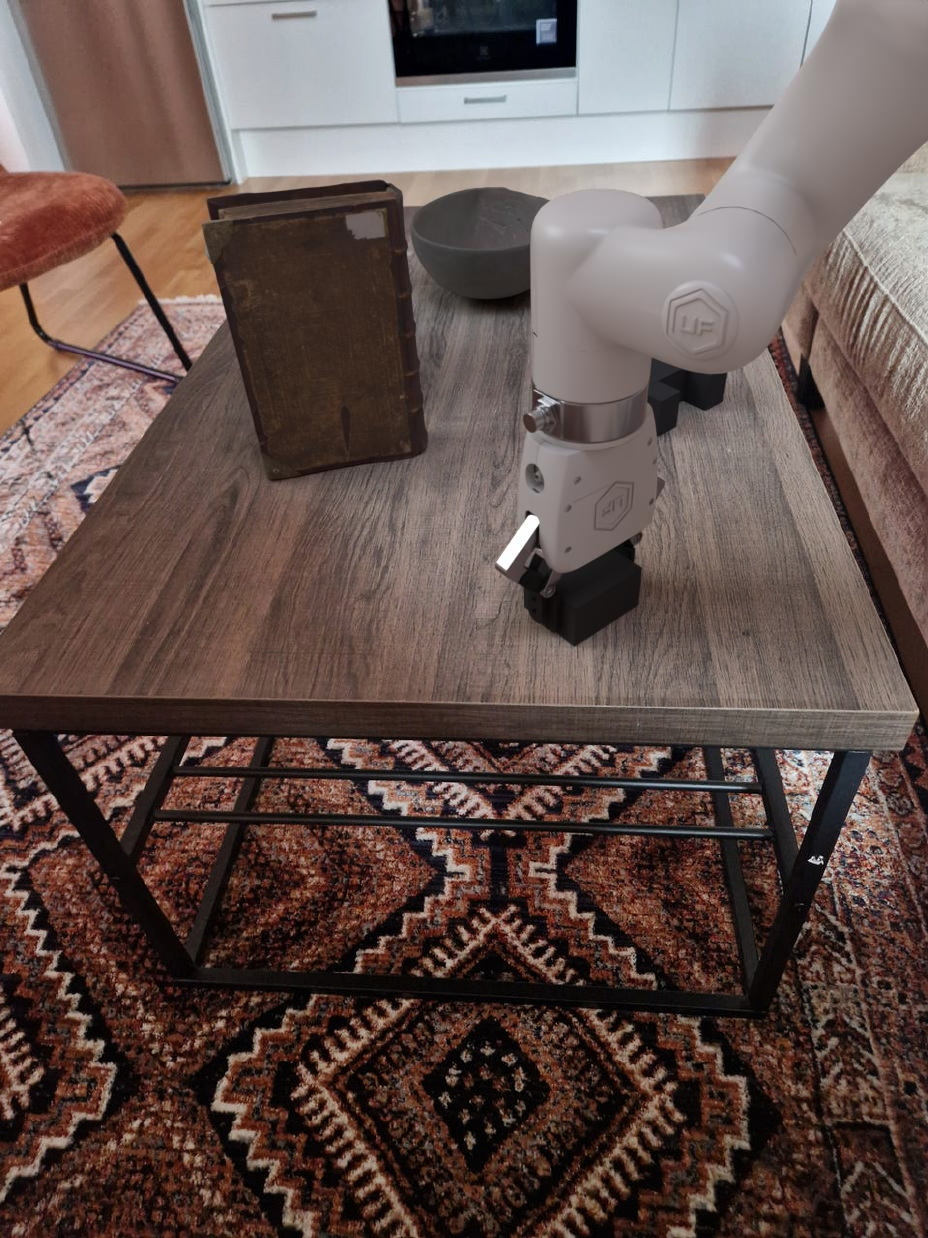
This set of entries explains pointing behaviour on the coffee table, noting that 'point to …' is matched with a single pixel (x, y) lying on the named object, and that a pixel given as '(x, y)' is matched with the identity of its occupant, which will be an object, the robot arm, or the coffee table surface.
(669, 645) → the coffee table surface
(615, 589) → the pad
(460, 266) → the bowl
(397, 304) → the book
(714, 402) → the notch pad
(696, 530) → the coffee table surface
